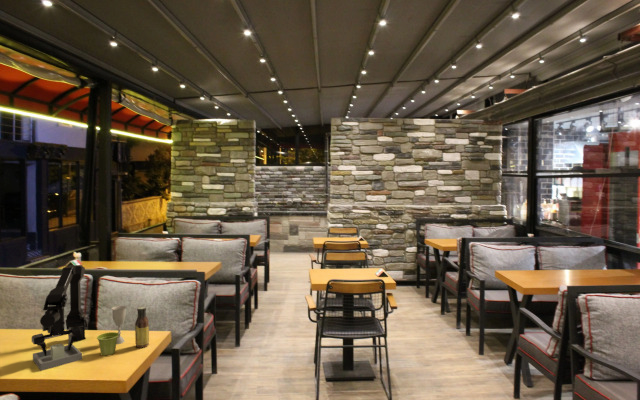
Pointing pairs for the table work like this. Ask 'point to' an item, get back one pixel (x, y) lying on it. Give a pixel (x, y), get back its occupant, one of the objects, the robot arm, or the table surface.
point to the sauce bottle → (141, 328)
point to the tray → (46, 362)
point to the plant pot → (108, 343)
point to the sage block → (57, 351)
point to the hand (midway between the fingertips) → (57, 352)
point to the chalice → (119, 320)
